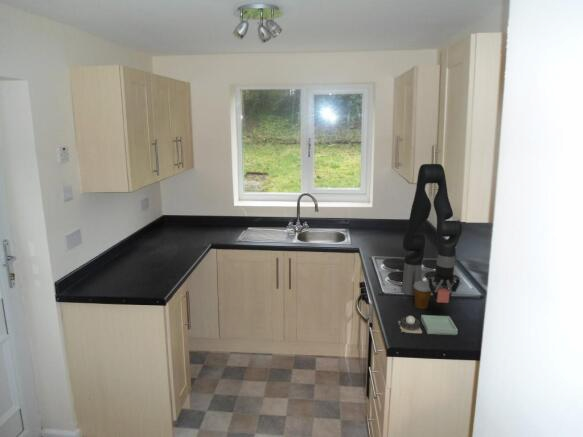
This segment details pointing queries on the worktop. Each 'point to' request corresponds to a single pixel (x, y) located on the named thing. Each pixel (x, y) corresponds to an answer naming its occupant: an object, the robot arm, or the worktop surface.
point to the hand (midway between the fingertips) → (441, 299)
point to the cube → (443, 295)
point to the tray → (438, 325)
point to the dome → (410, 320)
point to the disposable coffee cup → (421, 294)
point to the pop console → (409, 326)
